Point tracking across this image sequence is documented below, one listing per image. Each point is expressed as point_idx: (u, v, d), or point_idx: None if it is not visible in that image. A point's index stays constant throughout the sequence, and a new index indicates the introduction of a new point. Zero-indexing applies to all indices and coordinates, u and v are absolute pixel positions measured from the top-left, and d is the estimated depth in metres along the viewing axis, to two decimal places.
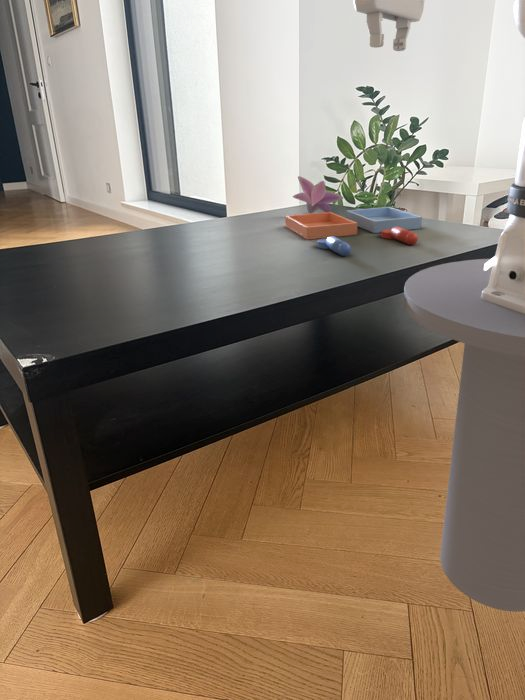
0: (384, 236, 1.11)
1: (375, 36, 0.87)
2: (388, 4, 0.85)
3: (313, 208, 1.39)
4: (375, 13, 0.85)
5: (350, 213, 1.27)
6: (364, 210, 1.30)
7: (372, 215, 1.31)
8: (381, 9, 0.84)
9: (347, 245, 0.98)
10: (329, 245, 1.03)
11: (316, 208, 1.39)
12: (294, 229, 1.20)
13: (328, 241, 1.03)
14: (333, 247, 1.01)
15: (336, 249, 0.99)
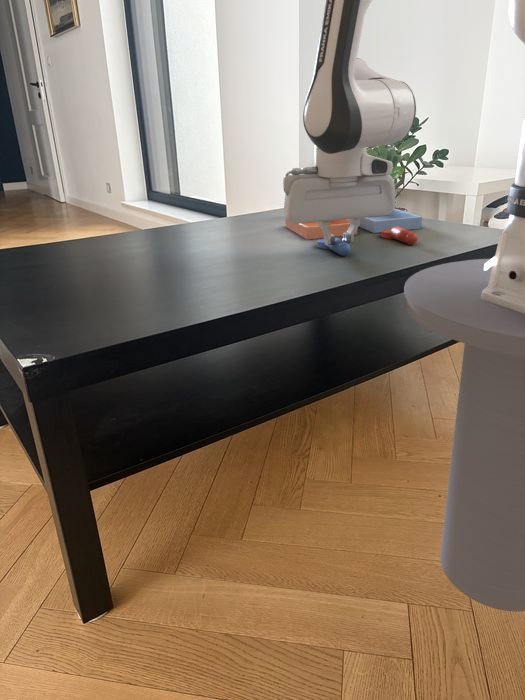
0: (384, 236, 1.11)
1: (326, 237, 1.00)
2: (316, 216, 0.96)
3: None
4: (321, 221, 0.98)
5: None
6: None
7: None
8: (305, 222, 0.96)
9: (347, 245, 0.98)
10: None
11: None
12: (294, 229, 1.20)
13: None
14: (333, 247, 1.01)
15: (336, 249, 0.99)
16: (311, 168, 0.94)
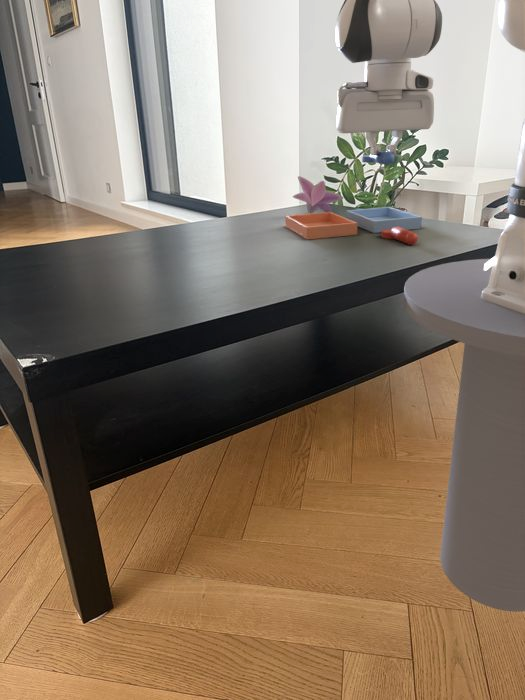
0: (384, 236, 1.11)
1: (372, 148, 1.13)
2: (366, 127, 1.09)
3: (313, 208, 1.39)
4: (369, 132, 1.11)
5: (350, 213, 1.27)
6: (364, 210, 1.30)
7: (372, 215, 1.31)
8: (356, 132, 1.09)
9: (391, 154, 1.11)
10: (374, 157, 1.16)
11: (316, 208, 1.39)
12: (294, 229, 1.20)
13: None
14: (378, 158, 1.14)
15: (381, 158, 1.13)
16: (362, 83, 1.07)
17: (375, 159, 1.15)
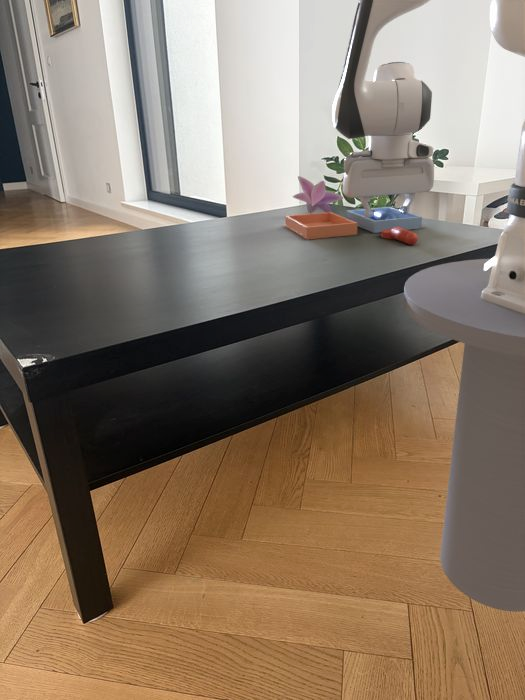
0: (384, 236, 1.11)
1: (366, 210, 1.20)
2: (370, 192, 1.17)
3: (313, 208, 1.39)
4: (363, 197, 1.18)
5: (350, 213, 1.27)
6: (364, 210, 1.30)
7: None
8: (361, 196, 1.17)
9: (393, 216, 1.19)
10: (377, 217, 1.24)
11: (316, 208, 1.39)
12: (294, 229, 1.20)
13: (376, 214, 1.24)
14: (381, 219, 1.22)
15: None
16: (367, 152, 1.15)
17: (378, 219, 1.23)
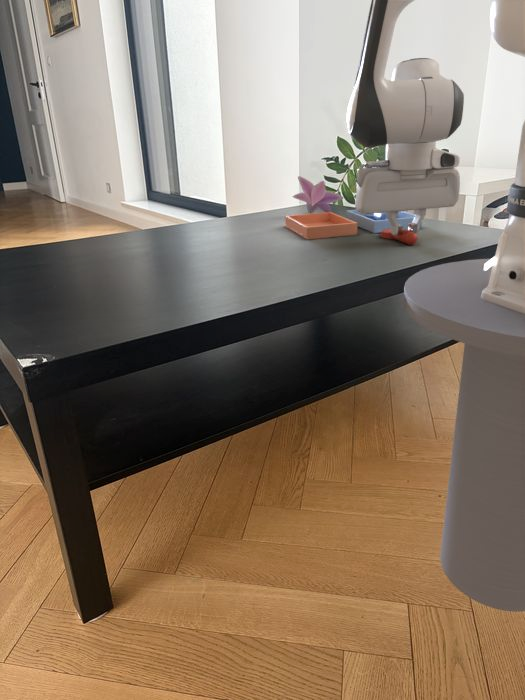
0: (384, 236, 1.11)
1: (393, 227, 1.06)
2: (387, 207, 1.02)
3: (313, 208, 1.39)
4: (390, 212, 1.04)
5: (350, 213, 1.27)
6: None
7: None
8: (376, 212, 1.02)
9: None
10: (377, 217, 1.24)
11: (316, 208, 1.39)
12: (294, 229, 1.20)
13: (376, 214, 1.24)
14: (381, 219, 1.22)
15: None
16: (383, 161, 1.00)
17: (378, 219, 1.23)
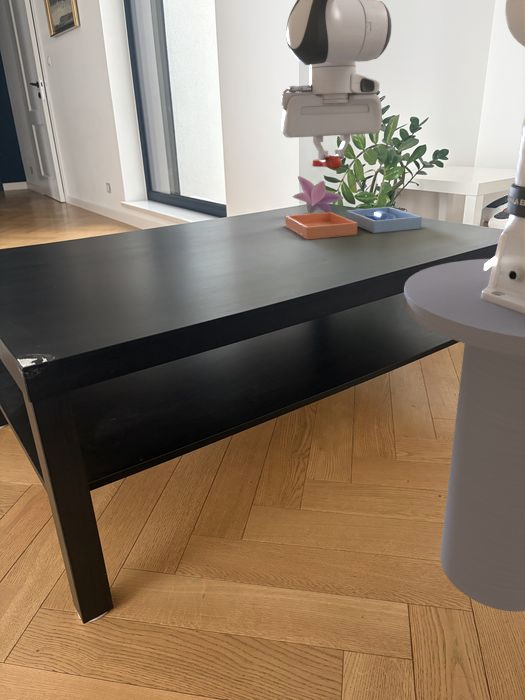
0: (314, 164, 1.17)
1: (320, 152, 1.11)
2: (311, 131, 1.07)
3: (313, 208, 1.39)
4: (315, 137, 1.09)
5: (350, 213, 1.27)
6: (364, 210, 1.30)
7: None
8: (301, 136, 1.07)
9: (393, 216, 1.19)
10: (377, 217, 1.24)
11: (316, 208, 1.39)
12: (294, 229, 1.20)
13: (376, 214, 1.24)
14: (381, 219, 1.22)
15: None
16: (306, 86, 1.05)
17: (378, 219, 1.23)
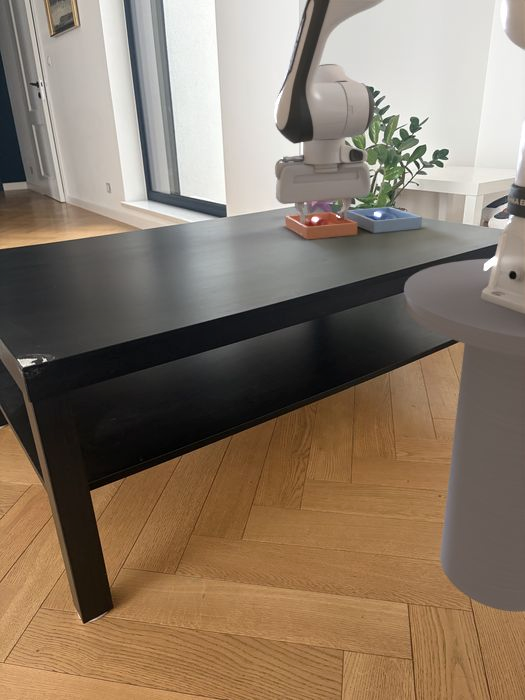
0: (306, 225, 1.23)
1: (301, 217, 1.17)
2: (303, 198, 1.14)
3: (313, 208, 1.39)
4: (297, 203, 1.15)
5: (350, 213, 1.27)
6: (364, 210, 1.30)
7: None
8: (294, 202, 1.14)
9: (393, 216, 1.19)
10: (377, 217, 1.24)
11: (316, 208, 1.39)
12: (294, 229, 1.20)
13: (376, 214, 1.24)
14: (381, 219, 1.22)
15: None
16: (298, 156, 1.12)
17: (378, 219, 1.23)
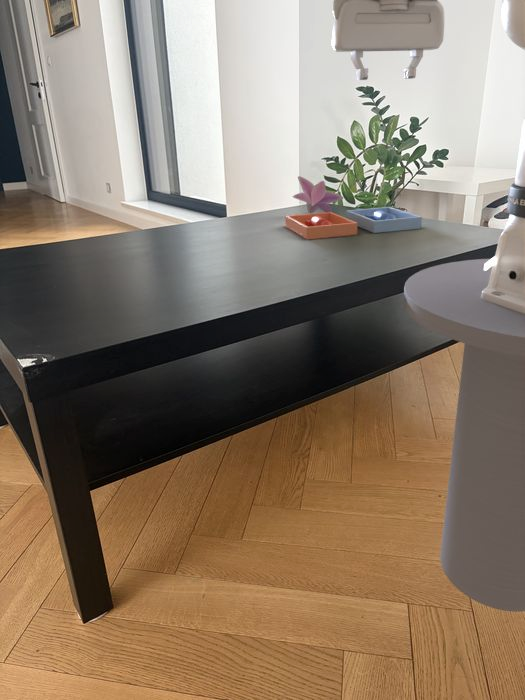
0: (306, 225, 1.23)
1: (358, 70, 0.98)
2: (366, 43, 0.95)
3: (313, 208, 1.39)
4: (354, 51, 0.96)
5: (350, 213, 1.27)
6: (364, 210, 1.30)
7: None
8: (354, 48, 0.95)
9: (393, 216, 1.19)
10: (377, 217, 1.24)
11: (316, 208, 1.39)
12: (294, 229, 1.20)
13: (376, 214, 1.24)
14: (381, 219, 1.22)
15: None
16: None
17: (378, 219, 1.23)
